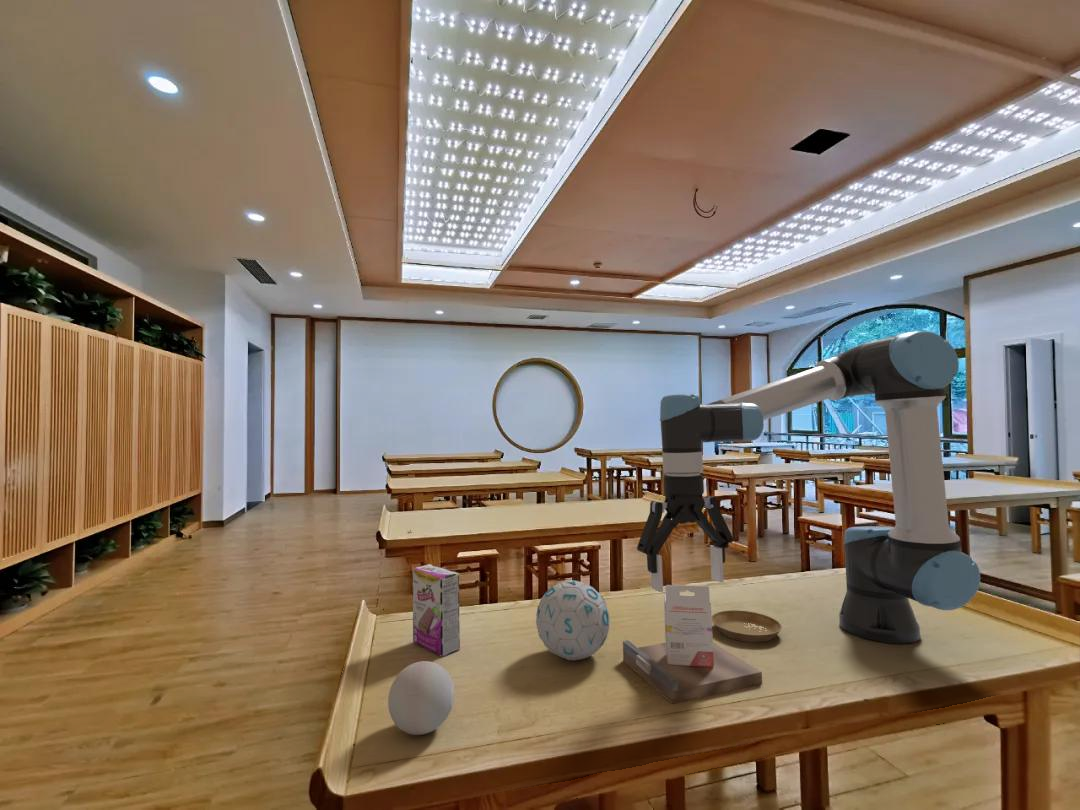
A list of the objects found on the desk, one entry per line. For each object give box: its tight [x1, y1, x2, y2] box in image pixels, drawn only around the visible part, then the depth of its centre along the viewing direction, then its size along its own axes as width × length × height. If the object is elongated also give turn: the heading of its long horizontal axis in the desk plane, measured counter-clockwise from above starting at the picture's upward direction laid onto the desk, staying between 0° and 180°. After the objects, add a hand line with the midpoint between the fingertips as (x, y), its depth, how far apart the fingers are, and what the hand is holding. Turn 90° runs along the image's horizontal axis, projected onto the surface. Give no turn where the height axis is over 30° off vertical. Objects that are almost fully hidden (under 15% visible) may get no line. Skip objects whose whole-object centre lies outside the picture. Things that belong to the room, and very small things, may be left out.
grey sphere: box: [387, 660, 455, 736], centre depth 79 cm, size 10×10×10 cm
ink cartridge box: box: [663, 584, 714, 667], centre depth 97 cm, size 9×5×15 cm, turn 78°
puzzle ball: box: [535, 579, 610, 661], centre depth 104 cm, size 15×15×15 cm
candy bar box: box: [411, 563, 461, 657], centre depth 110 cm, size 11×5×16 cm, turn 47°
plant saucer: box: [712, 609, 783, 643], centre depth 114 cm, size 15×15×3 cm
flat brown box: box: [622, 640, 763, 704], centre depth 96 cm, size 20×17×4 cm
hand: (688, 585), depth 97 cm, fingers open, 13 cm apart
